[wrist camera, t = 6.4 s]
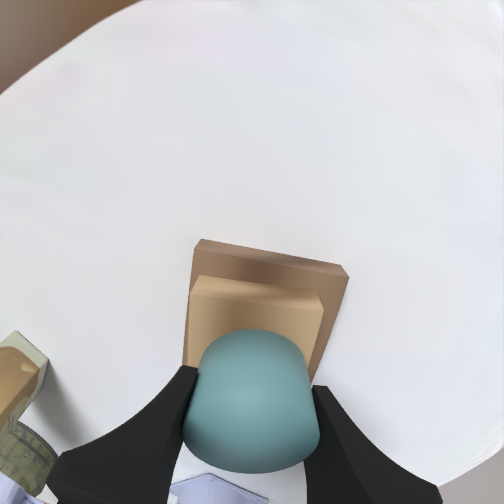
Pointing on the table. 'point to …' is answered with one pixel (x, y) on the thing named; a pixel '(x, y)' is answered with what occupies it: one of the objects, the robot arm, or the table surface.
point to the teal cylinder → (251, 404)
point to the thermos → (26, 458)
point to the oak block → (250, 313)
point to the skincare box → (18, 379)
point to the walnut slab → (273, 281)
